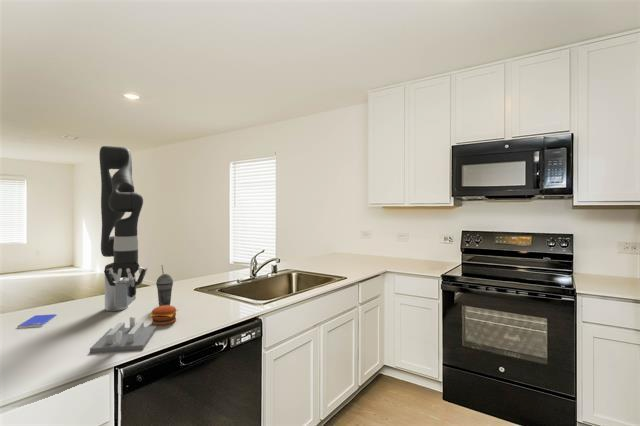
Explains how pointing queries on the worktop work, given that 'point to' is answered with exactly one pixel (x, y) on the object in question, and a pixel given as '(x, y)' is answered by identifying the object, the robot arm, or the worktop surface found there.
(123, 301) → the block
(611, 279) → the worktop surface
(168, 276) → the beverage cup
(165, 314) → the hamburger
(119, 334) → the dock
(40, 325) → the hard drive
